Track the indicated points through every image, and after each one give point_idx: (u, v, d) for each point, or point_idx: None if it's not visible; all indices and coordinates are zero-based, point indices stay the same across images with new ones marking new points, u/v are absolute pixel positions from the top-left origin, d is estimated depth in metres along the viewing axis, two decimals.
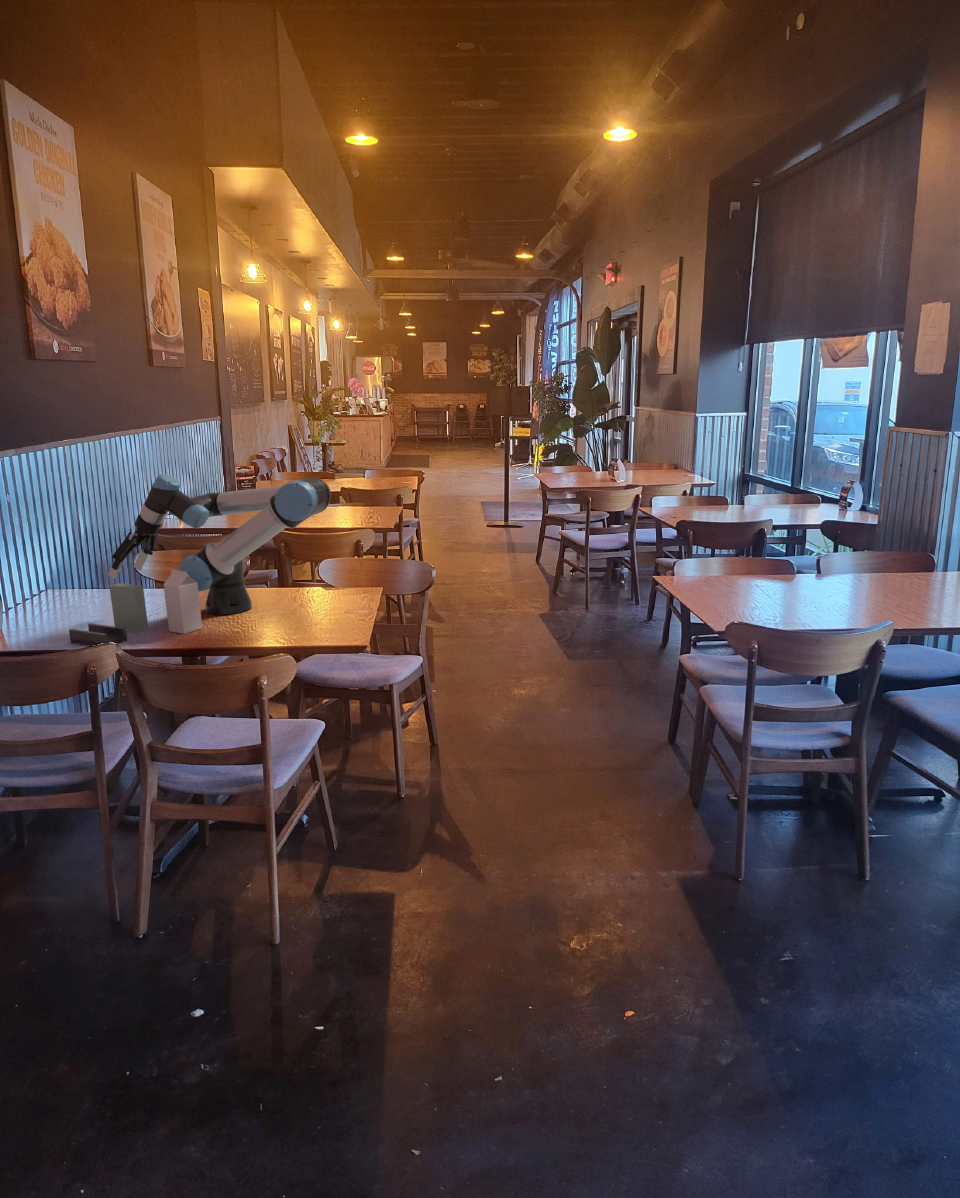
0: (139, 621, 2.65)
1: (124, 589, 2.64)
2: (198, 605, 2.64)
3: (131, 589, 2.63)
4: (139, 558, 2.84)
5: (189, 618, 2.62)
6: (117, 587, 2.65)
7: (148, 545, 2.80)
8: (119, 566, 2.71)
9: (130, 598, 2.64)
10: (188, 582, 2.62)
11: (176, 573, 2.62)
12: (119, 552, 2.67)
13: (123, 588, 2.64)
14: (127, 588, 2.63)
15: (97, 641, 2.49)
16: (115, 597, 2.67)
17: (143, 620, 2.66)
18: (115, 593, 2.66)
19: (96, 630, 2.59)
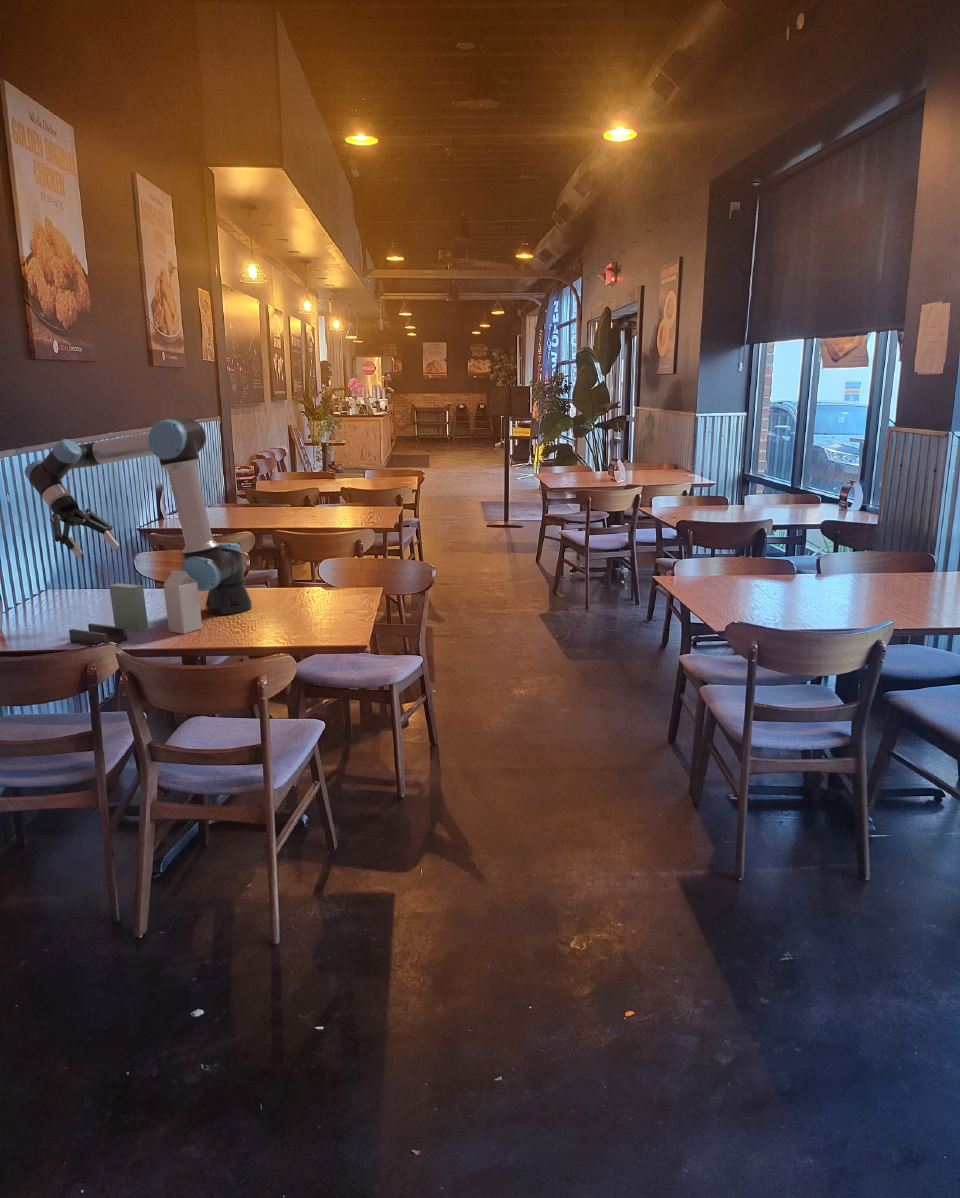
0: (139, 621, 2.65)
1: (124, 589, 2.64)
2: (198, 605, 2.64)
3: (131, 589, 2.63)
4: (108, 540, 2.75)
5: (189, 618, 2.62)
6: (117, 587, 2.65)
7: (93, 522, 2.73)
8: (71, 542, 2.62)
9: (130, 598, 2.64)
10: (188, 582, 2.62)
11: (176, 573, 2.62)
12: (55, 532, 2.62)
13: (123, 588, 2.64)
14: (127, 588, 2.63)
15: (97, 641, 2.49)
16: (115, 597, 2.67)
17: (143, 620, 2.66)
18: (115, 593, 2.66)
19: (96, 630, 2.59)
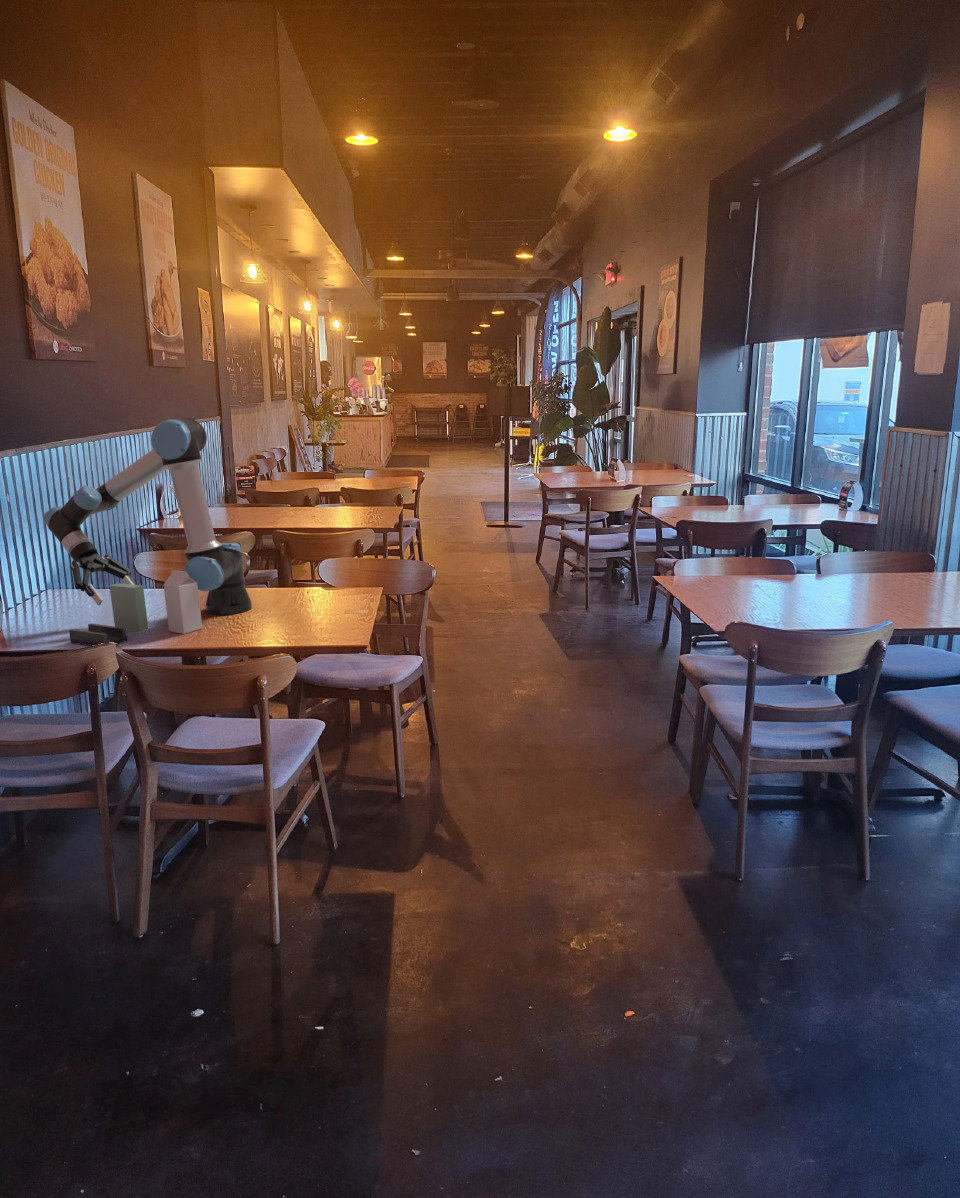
0: (139, 621, 2.65)
1: (124, 589, 2.64)
2: (198, 605, 2.64)
3: (131, 589, 2.63)
4: None
5: (189, 618, 2.62)
6: (117, 587, 2.65)
7: (112, 567, 2.73)
8: (92, 589, 2.62)
9: (130, 598, 2.64)
10: (188, 582, 2.62)
11: (176, 573, 2.62)
12: (75, 580, 2.62)
13: (123, 588, 2.64)
14: (127, 588, 2.63)
15: (97, 641, 2.49)
16: (115, 597, 2.67)
17: (143, 620, 2.66)
18: (115, 593, 2.66)
19: (96, 630, 2.59)
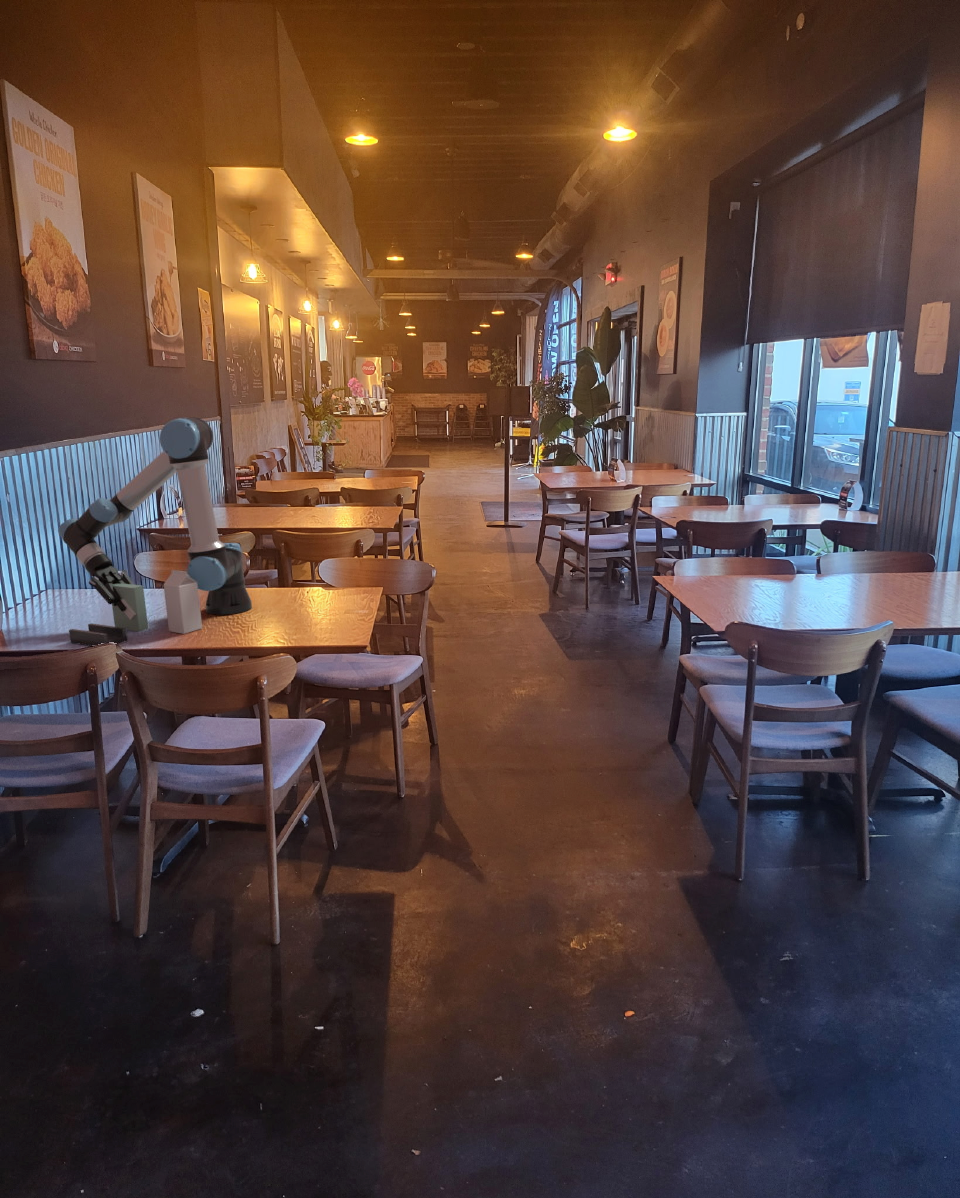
0: (139, 620, 2.65)
1: (124, 589, 2.64)
2: (198, 605, 2.64)
3: (131, 589, 2.63)
4: None
5: (189, 618, 2.62)
6: (117, 587, 2.65)
7: (123, 583, 2.69)
8: (124, 604, 2.65)
9: (130, 598, 2.64)
10: (188, 582, 2.62)
11: (176, 573, 2.62)
12: (105, 596, 2.63)
13: (123, 588, 2.64)
14: (127, 588, 2.63)
15: (97, 641, 2.49)
16: None
17: (143, 620, 2.66)
18: None
19: (96, 630, 2.59)
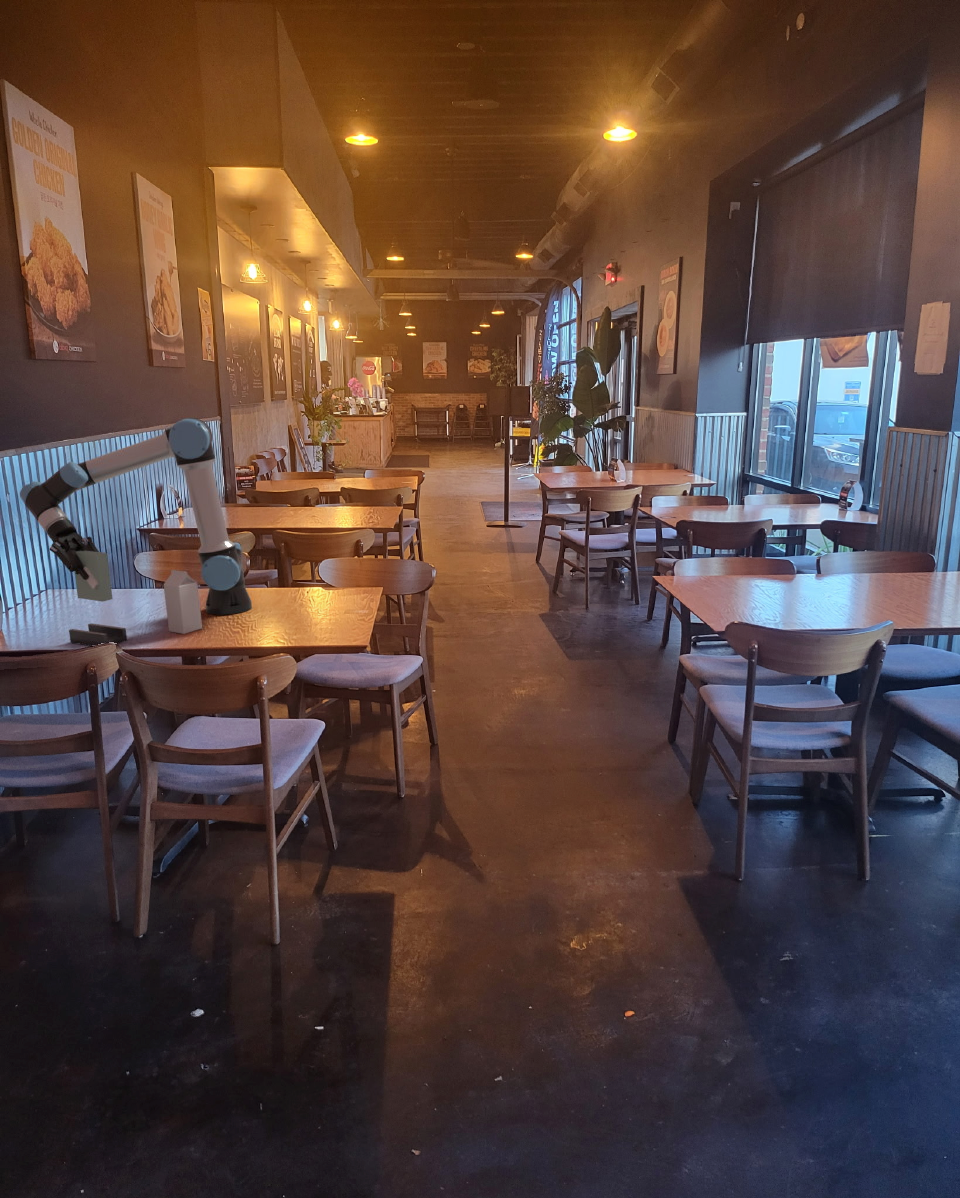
0: (103, 590, 2.50)
1: (87, 556, 2.49)
2: (198, 605, 2.64)
3: (94, 556, 2.48)
4: None
5: (189, 618, 2.62)
6: (80, 554, 2.51)
7: None
8: (87, 572, 2.50)
9: (93, 565, 2.49)
10: (188, 582, 2.62)
11: (176, 573, 2.62)
12: (66, 563, 2.48)
13: (86, 555, 2.49)
14: (90, 555, 2.48)
15: (97, 641, 2.49)
16: None
17: (107, 589, 2.51)
18: None
19: (96, 630, 2.59)
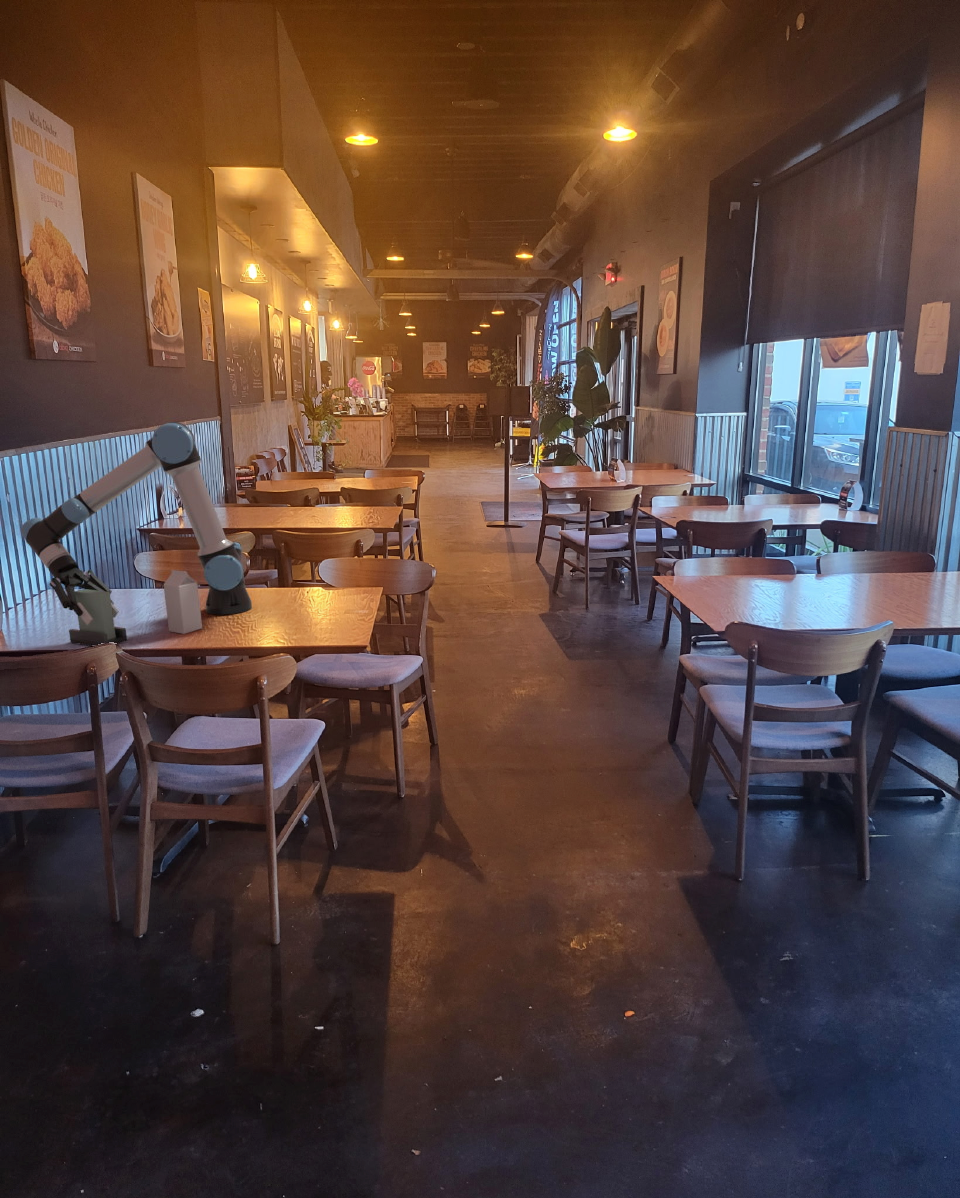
0: (106, 629, 2.51)
1: (89, 595, 2.50)
2: (198, 605, 2.64)
3: (97, 595, 2.48)
4: None
5: (189, 618, 2.62)
6: (82, 593, 2.51)
7: (91, 585, 2.56)
8: (81, 608, 2.48)
9: (96, 605, 2.49)
10: (188, 582, 2.62)
11: (176, 573, 2.62)
12: (61, 599, 2.47)
13: (88, 594, 2.50)
14: (93, 594, 2.49)
15: (97, 641, 2.49)
16: None
17: (110, 628, 2.52)
18: (80, 599, 2.52)
19: None
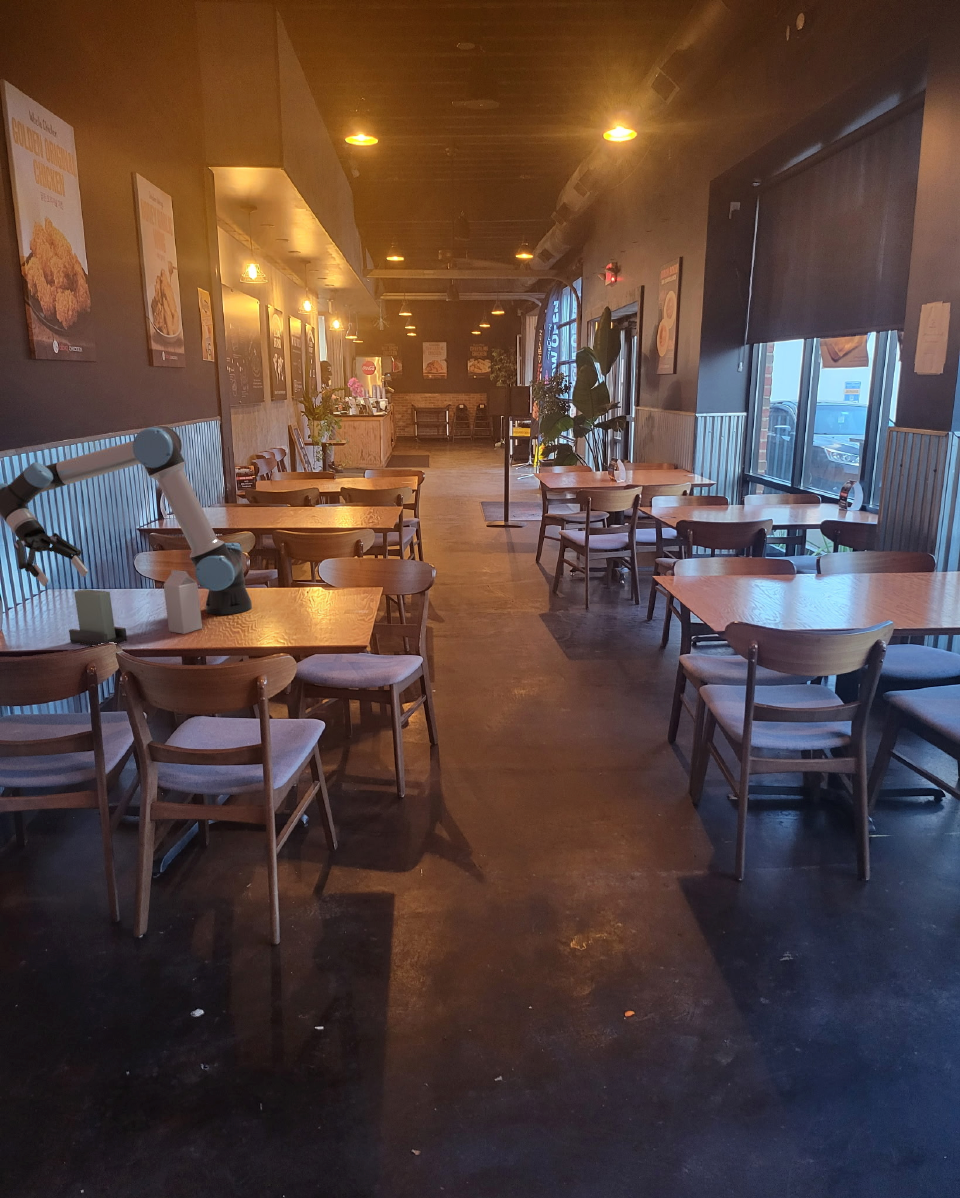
0: (106, 629, 2.51)
1: (89, 595, 2.50)
2: (198, 605, 2.64)
3: (97, 595, 2.48)
4: (76, 566, 2.62)
5: (189, 618, 2.62)
6: (82, 593, 2.51)
7: (60, 547, 2.61)
8: (37, 569, 2.50)
9: (96, 605, 2.49)
10: (188, 582, 2.62)
11: (176, 573, 2.62)
12: (19, 559, 2.49)
13: (88, 594, 2.50)
14: (93, 594, 2.49)
15: (97, 641, 2.49)
16: (80, 604, 2.53)
17: (110, 628, 2.52)
18: (80, 599, 2.52)
19: None
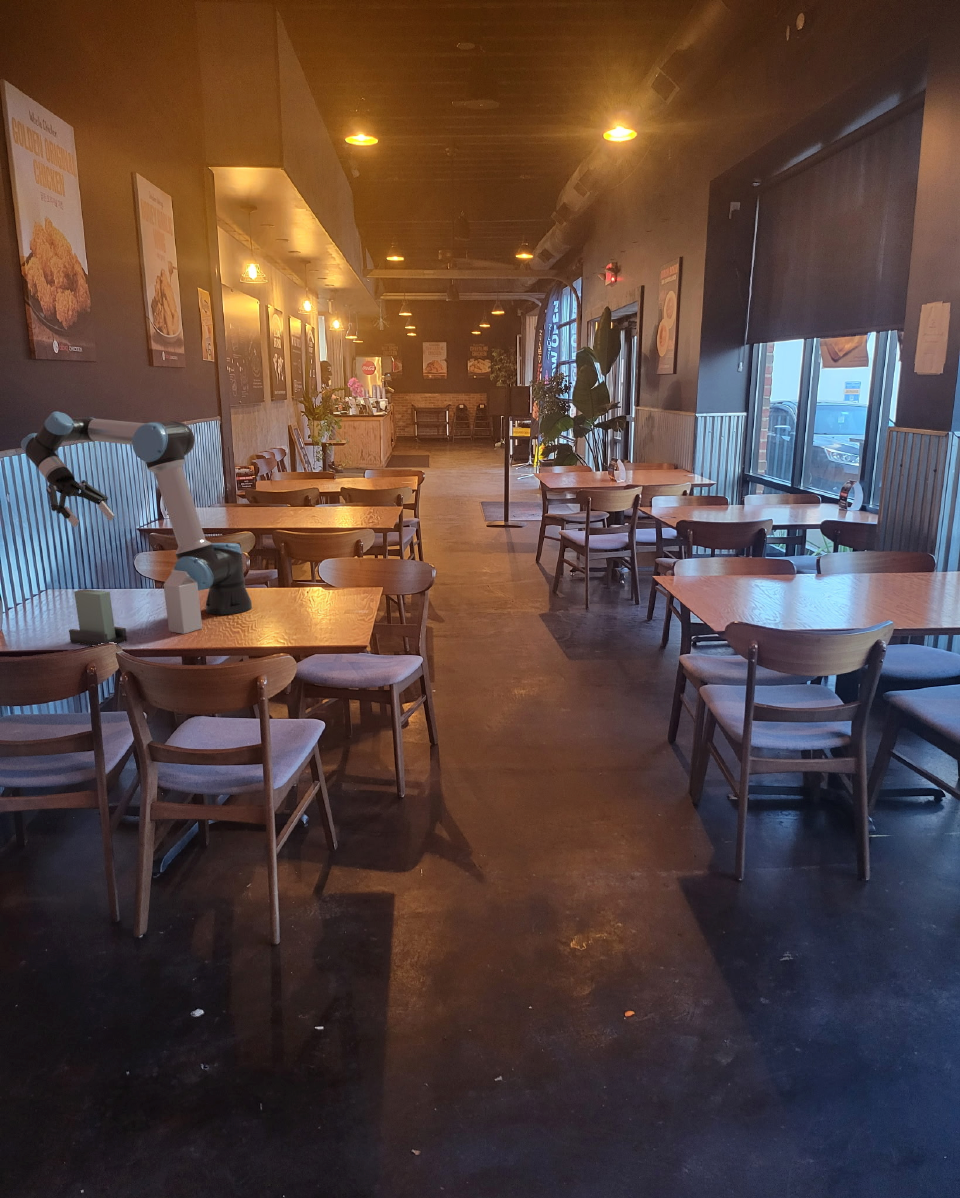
0: (106, 629, 2.51)
1: (89, 595, 2.50)
2: (198, 605, 2.64)
3: (97, 595, 2.48)
4: (103, 511, 2.81)
5: (189, 618, 2.62)
6: (82, 593, 2.51)
7: (88, 493, 2.80)
8: (68, 511, 2.69)
9: (96, 605, 2.49)
10: (188, 582, 2.62)
11: (176, 573, 2.62)
12: (52, 502, 2.68)
13: (88, 594, 2.50)
14: (93, 594, 2.49)
15: (97, 641, 2.49)
16: (80, 604, 2.53)
17: (110, 628, 2.52)
18: (80, 599, 2.52)
19: None
